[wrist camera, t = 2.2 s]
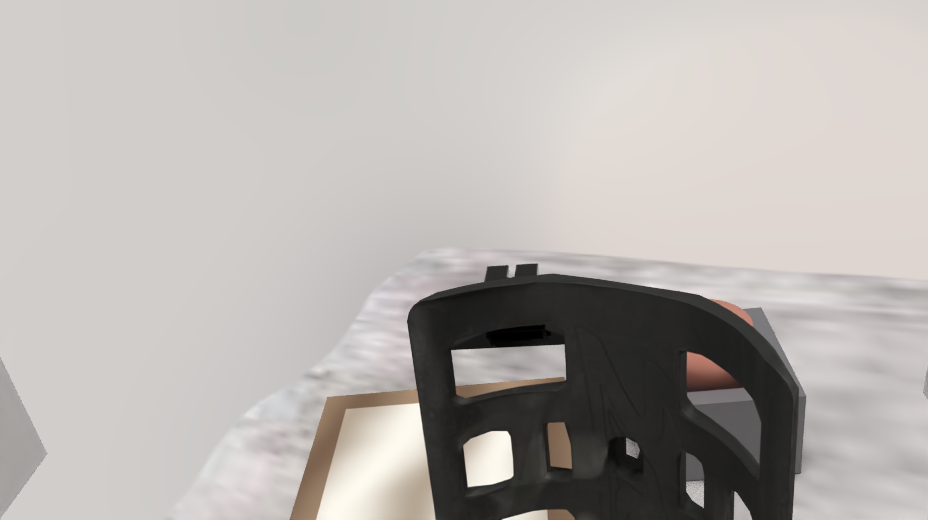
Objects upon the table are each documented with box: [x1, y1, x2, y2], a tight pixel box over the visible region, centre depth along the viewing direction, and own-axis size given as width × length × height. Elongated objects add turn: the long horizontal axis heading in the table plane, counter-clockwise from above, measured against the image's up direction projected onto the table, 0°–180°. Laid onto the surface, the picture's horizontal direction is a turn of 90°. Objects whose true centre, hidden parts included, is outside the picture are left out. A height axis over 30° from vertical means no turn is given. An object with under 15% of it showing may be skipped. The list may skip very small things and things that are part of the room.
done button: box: [687, 299, 753, 392], centre depth 43 cm, size 5×5×3 cm
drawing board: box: [290, 377, 575, 520], centre depth 44 cm, size 15×16×1 cm
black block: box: [451, 264, 565, 350], centre depth 57 cm, size 12×7×5 cm, turn 83°
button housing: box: [634, 308, 806, 481], centre depth 44 cm, size 8×8×5 cm
